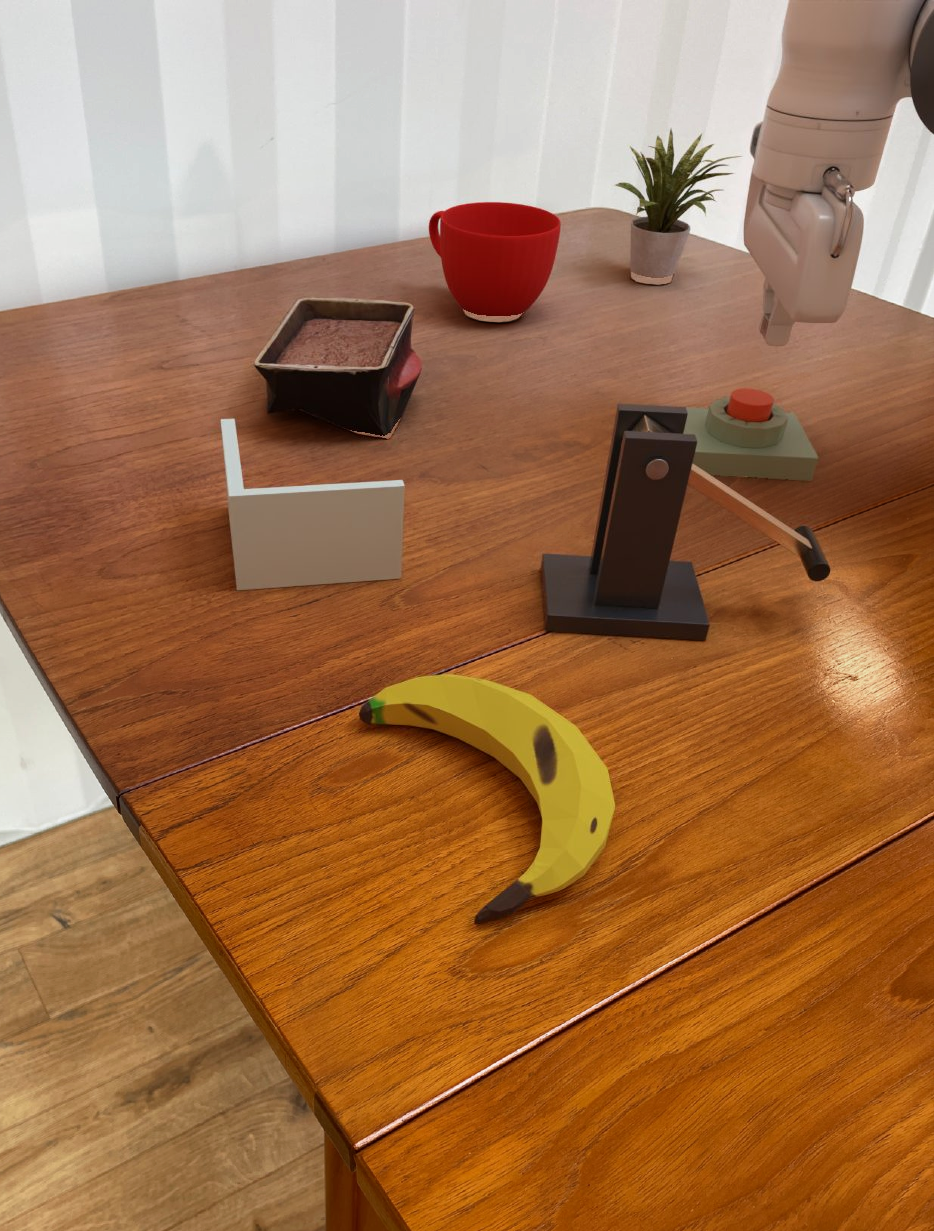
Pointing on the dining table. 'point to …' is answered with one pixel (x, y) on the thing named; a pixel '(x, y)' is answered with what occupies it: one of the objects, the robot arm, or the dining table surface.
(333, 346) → the baking dish
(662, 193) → the house plant
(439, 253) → the ceramic cup
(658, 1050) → the dining table surface
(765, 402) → the power button
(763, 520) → the lever switch
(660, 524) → the hinged bracket stand
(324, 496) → the right angle wall
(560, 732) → the banana
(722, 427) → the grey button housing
